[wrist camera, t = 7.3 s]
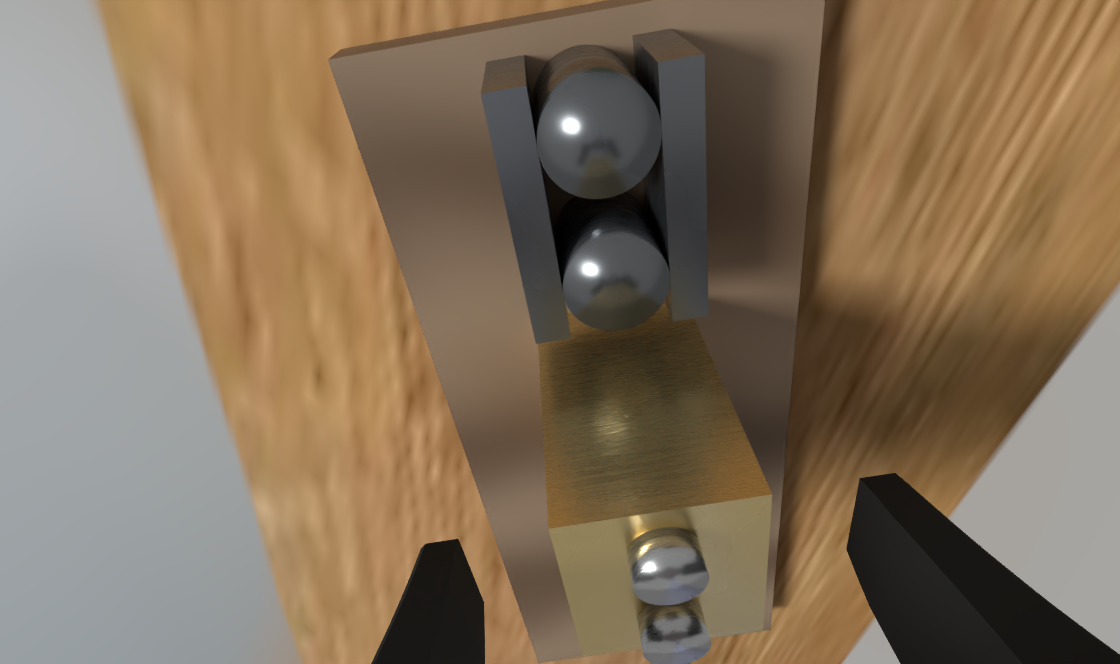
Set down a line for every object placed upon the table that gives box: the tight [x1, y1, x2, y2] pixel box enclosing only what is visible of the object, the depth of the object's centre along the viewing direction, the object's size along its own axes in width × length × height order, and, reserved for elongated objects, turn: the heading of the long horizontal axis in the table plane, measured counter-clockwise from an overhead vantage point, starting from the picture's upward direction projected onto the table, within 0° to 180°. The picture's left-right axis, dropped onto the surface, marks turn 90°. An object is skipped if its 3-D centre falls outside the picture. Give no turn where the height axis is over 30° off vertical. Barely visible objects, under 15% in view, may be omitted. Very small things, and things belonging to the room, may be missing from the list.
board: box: [328, 0, 825, 663], centre depth 17 cm, size 22×9×1 cm, turn 9°
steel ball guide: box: [481, 29, 709, 344], centre depth 14 cm, size 14×3×2 cm, turn 9°
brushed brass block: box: [538, 301, 772, 664], centre depth 13 cm, size 4×4×7 cm
